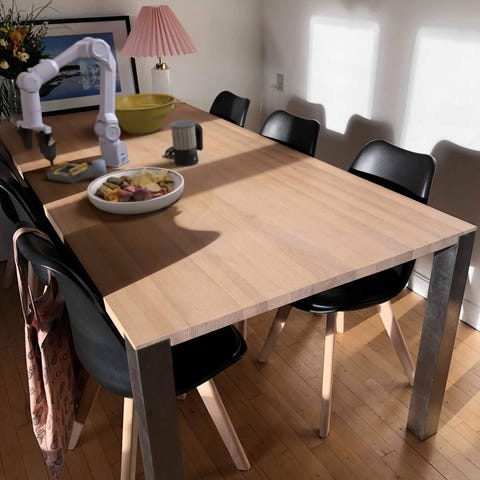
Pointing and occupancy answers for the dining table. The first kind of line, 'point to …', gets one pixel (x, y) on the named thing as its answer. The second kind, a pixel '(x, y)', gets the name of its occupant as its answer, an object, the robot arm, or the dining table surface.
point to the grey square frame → (75, 172)
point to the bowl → (136, 190)
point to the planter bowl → (142, 111)
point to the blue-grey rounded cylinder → (99, 168)
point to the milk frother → (185, 142)
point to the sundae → (50, 153)
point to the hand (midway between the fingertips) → (36, 151)
